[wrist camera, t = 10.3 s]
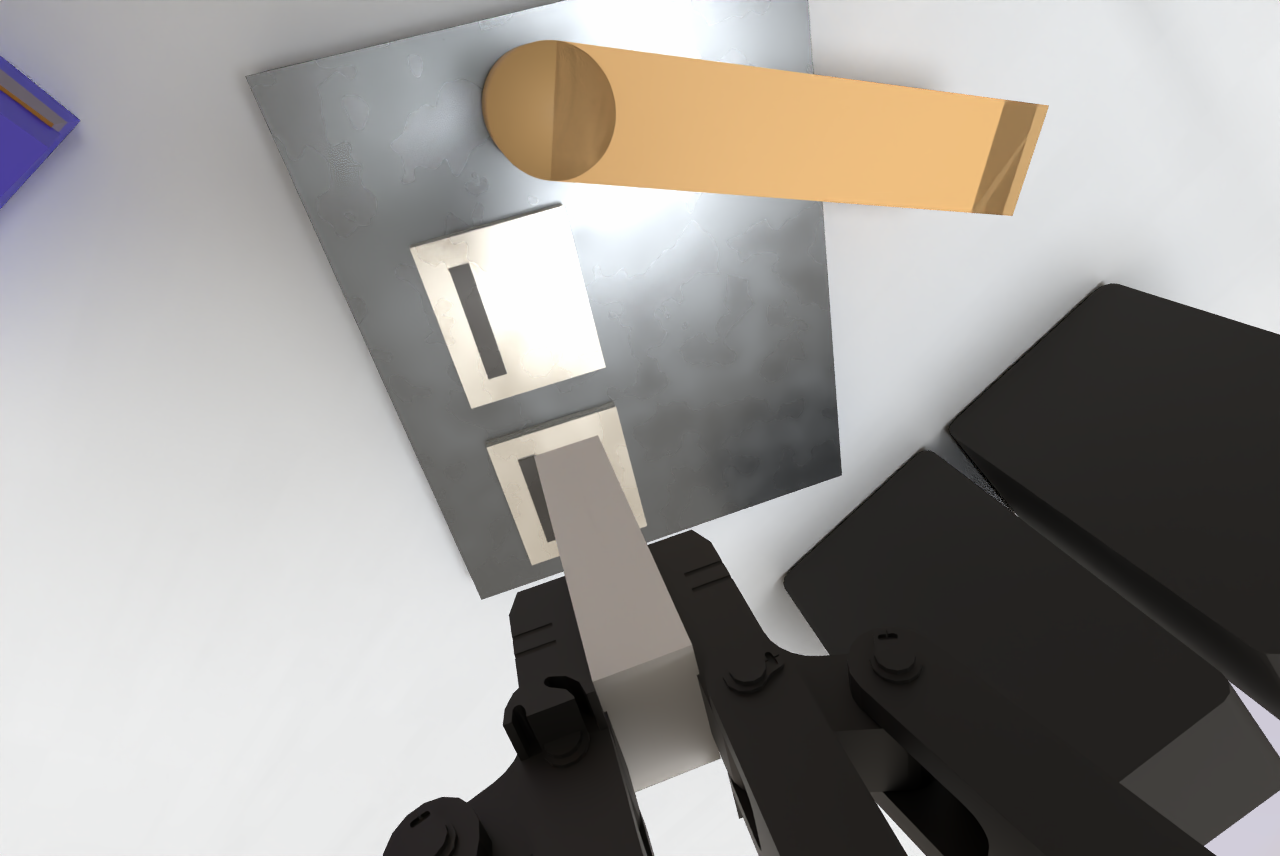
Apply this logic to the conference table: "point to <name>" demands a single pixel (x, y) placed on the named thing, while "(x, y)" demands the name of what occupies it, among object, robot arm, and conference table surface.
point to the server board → (565, 284)
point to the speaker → (1099, 550)
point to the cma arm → (753, 130)
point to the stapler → (26, 128)
